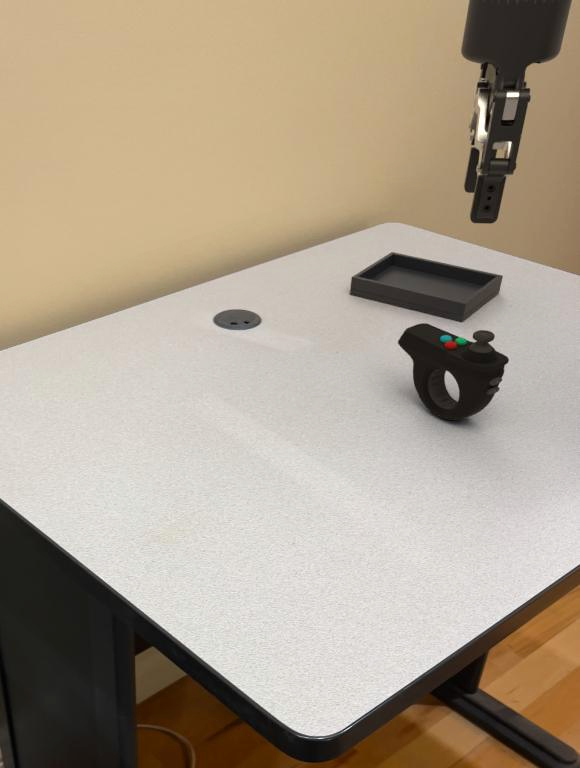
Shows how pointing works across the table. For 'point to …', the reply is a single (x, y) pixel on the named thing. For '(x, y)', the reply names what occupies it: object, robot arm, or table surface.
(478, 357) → the controller
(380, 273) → the dock
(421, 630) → the table surface
